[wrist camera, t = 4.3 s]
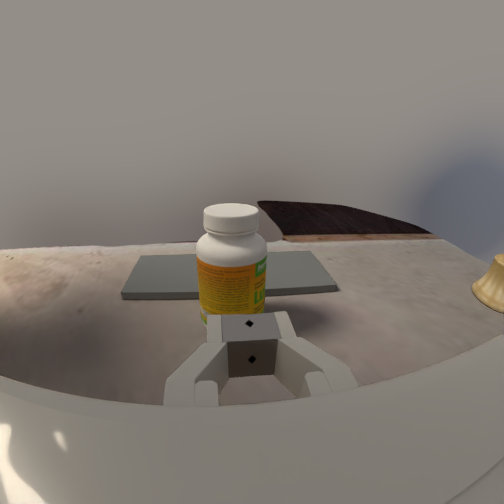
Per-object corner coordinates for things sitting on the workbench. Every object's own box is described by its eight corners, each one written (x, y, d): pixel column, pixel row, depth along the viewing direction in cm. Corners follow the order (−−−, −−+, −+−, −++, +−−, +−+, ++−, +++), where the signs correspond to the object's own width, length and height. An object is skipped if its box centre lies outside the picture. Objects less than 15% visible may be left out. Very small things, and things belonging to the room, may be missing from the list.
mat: (122, 299, 25) (121, 292, 25) (141, 261, 34) (140, 255, 33) (335, 291, 28) (336, 284, 28) (309, 256, 36) (310, 250, 36)
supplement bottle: (264, 340, 21) (271, 220, 17) (196, 337, 21) (186, 219, 17) (262, 303, 26) (267, 201, 22) (206, 301, 26) (201, 200, 22)
